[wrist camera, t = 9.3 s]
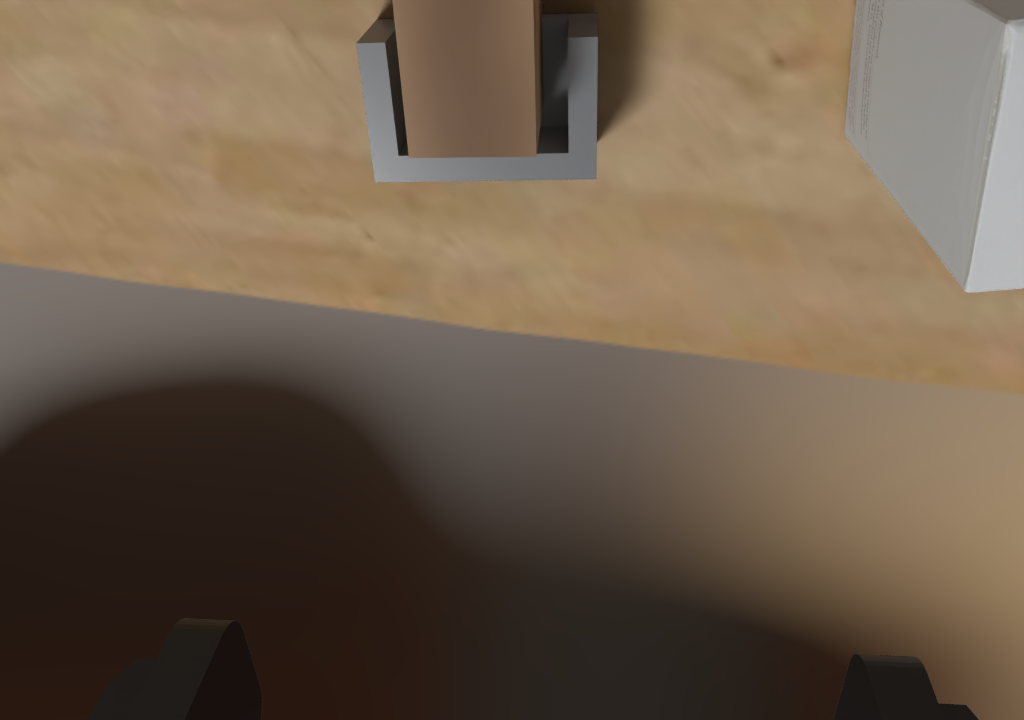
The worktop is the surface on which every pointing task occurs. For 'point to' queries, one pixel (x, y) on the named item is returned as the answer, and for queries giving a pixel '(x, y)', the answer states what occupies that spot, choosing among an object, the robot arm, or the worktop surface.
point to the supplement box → (946, 126)
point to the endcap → (559, 157)
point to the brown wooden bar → (470, 76)
